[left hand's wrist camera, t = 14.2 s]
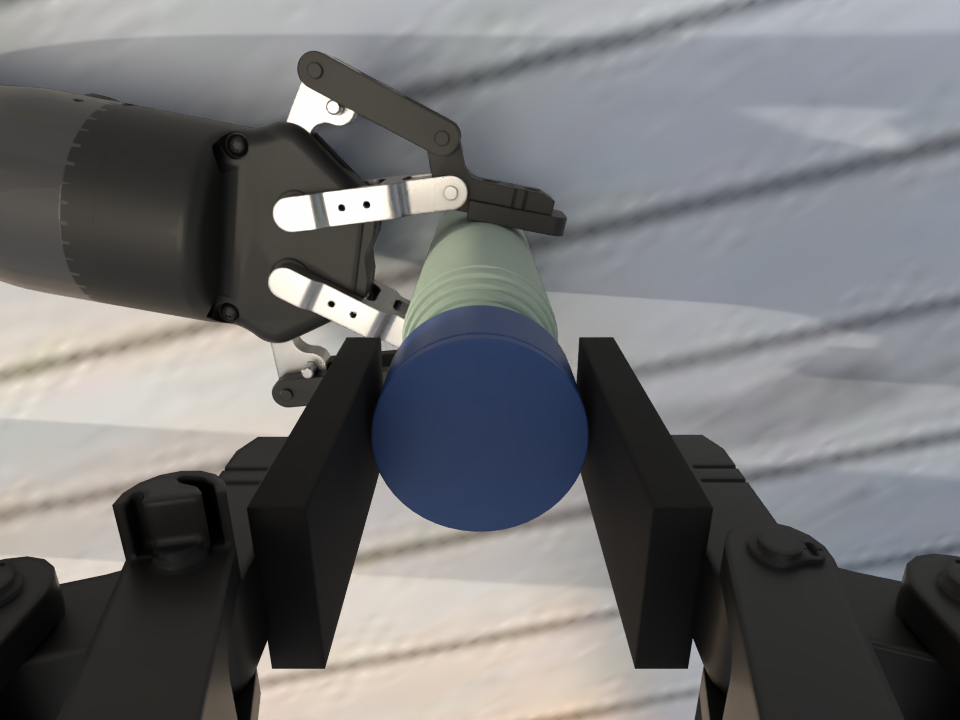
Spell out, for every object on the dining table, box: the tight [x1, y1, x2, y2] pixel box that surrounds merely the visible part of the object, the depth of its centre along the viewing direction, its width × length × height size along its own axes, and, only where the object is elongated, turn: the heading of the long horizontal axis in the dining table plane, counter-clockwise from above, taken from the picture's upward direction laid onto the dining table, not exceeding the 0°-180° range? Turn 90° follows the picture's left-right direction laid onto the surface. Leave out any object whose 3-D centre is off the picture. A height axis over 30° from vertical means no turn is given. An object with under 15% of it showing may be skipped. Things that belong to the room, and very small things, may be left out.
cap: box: [371, 305, 589, 532], centre depth 13 cm, size 4×4×2 cm
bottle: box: [402, 210, 558, 343], centre depth 22 cm, size 4×4×19 cm
